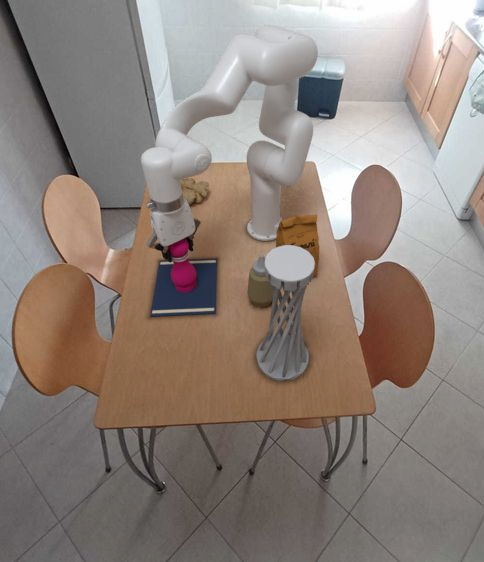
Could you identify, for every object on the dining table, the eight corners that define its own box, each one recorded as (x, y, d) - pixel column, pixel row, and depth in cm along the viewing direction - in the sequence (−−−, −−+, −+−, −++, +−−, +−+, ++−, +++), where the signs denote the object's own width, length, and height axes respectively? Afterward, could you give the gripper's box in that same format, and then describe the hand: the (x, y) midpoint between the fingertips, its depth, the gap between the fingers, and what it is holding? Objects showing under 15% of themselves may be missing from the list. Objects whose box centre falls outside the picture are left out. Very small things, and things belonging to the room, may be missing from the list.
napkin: (217, 259, 125) (217, 258, 124) (215, 314, 110) (215, 313, 110) (159, 261, 123) (159, 260, 123) (150, 317, 109) (150, 316, 108)
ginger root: (196, 177, 152) (195, 162, 145) (216, 205, 147) (217, 191, 140) (159, 191, 147) (156, 176, 140) (178, 221, 141) (176, 207, 134)
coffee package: (319, 281, 120) (328, 225, 103) (280, 287, 117) (283, 231, 101) (310, 258, 126) (317, 203, 110) (272, 264, 124) (274, 208, 107)
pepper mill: (196, 294, 114) (186, 244, 99) (171, 293, 114) (157, 243, 99) (199, 276, 119) (190, 225, 104) (176, 275, 119) (163, 224, 104)
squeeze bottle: (279, 293, 116) (281, 249, 102) (269, 314, 111) (271, 270, 97) (253, 286, 117) (252, 242, 104) (243, 306, 112) (241, 262, 99)
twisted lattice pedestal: (306, 335, 106) (321, 239, 80) (310, 380, 97) (328, 288, 71) (256, 335, 106) (255, 238, 80) (256, 381, 97) (253, 288, 71)
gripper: (141, 222, 88) (157, 276, 101) (206, 193, 95) (213, 247, 109) (126, 206, 91) (143, 260, 105) (189, 180, 99) (198, 233, 113)
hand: (179, 253), depth 107 cm, fingers closed on pepper mill, 6 cm apart
